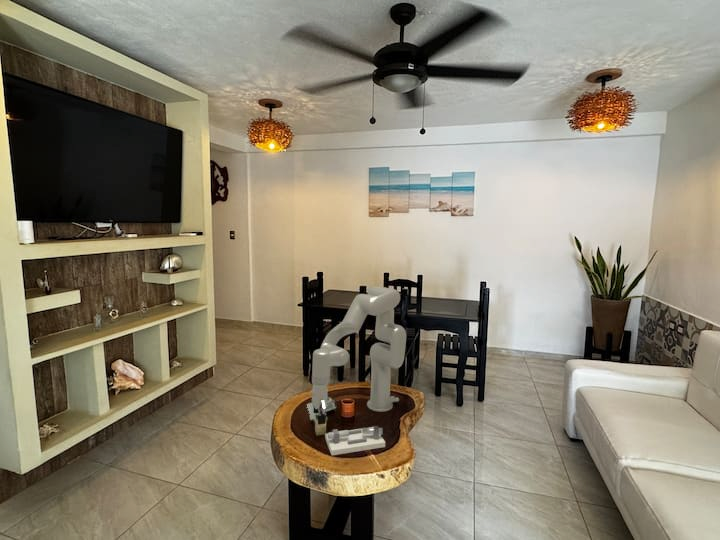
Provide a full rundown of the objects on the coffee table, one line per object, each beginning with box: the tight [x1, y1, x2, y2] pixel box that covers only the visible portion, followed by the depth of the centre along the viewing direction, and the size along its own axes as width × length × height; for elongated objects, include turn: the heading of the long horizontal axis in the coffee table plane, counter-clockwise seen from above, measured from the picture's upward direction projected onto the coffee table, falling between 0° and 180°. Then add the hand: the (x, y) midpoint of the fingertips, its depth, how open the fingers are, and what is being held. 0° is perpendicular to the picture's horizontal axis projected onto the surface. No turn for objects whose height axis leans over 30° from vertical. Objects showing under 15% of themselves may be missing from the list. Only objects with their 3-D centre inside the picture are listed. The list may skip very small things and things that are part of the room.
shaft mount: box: [324, 426, 386, 456], centre depth 148 cm, size 22×12×6 cm, turn 107°
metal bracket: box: [306, 396, 337, 421], centre depth 174 cm, size 14×6×15 cm
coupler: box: [313, 415, 328, 436], centre depth 155 cm, size 6×4×7 cm
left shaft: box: [361, 425, 384, 439], centre depth 149 cm, size 8×4×4 cm, turn 92°
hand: (319, 418), depth 154 cm, fingers open, 9 cm apart
